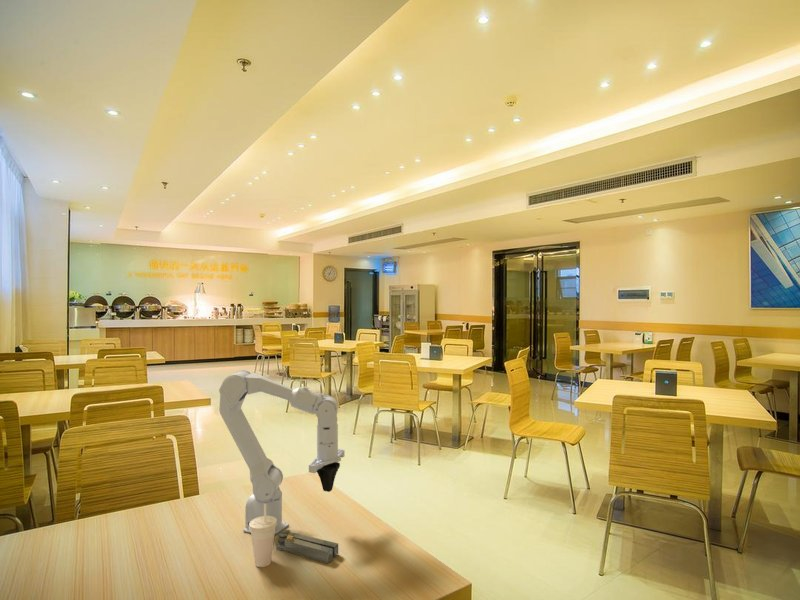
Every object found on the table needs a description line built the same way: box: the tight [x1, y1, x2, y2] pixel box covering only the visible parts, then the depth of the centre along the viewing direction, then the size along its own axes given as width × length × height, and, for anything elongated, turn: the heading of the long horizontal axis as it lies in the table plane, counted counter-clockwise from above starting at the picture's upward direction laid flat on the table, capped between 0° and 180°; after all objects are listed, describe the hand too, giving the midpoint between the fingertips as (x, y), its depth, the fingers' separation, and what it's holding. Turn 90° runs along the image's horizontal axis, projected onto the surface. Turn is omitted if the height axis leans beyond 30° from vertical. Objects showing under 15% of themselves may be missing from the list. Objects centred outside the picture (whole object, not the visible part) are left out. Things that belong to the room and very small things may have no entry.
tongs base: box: [276, 535, 334, 565], centre depth 110 cm, size 17×5×4 cm, turn 65°
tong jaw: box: [278, 529, 339, 559], centre depth 111 cm, size 17×3×3 cm, turn 66°
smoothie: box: [249, 503, 277, 568], centre depth 106 cm, size 6×6×14 cm
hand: (327, 490), depth 123 cm, fingers closed
